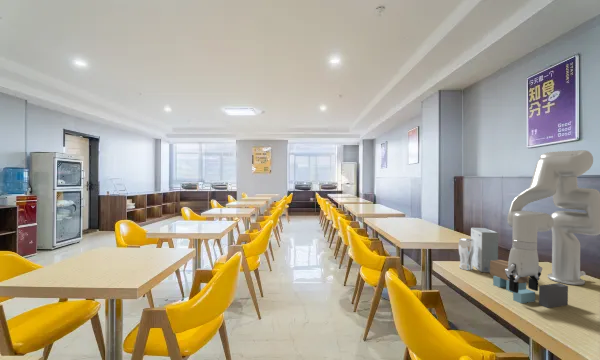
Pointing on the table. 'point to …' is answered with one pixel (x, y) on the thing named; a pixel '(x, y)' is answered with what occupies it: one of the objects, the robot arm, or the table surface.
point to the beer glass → (466, 253)
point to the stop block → (553, 295)
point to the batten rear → (499, 282)
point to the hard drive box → (484, 248)
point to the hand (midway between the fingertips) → (523, 290)
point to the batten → (524, 296)
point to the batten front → (521, 286)
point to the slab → (503, 270)
